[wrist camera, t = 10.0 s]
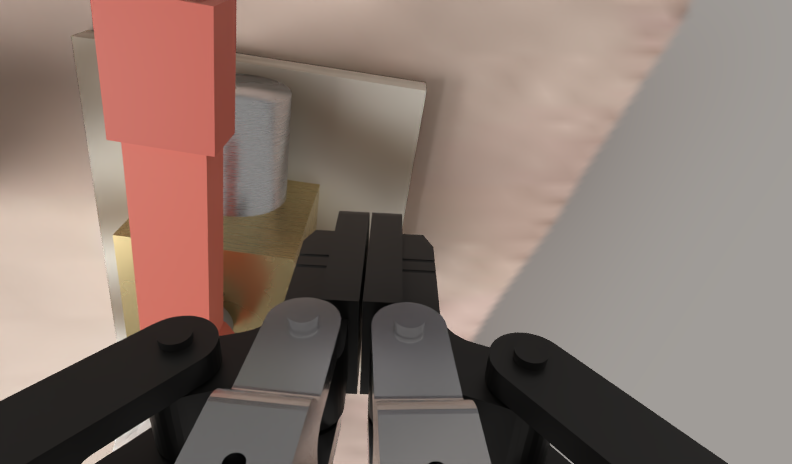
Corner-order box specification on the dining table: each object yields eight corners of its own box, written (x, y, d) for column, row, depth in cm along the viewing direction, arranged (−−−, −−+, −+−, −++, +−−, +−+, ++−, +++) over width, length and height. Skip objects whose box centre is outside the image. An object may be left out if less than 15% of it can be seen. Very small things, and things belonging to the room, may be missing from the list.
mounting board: (377, 357, 35) (376, 373, 33) (128, 325, 34) (116, 341, 32) (425, 82, 26) (426, 91, 24) (88, 30, 25) (70, 35, 24)
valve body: (305, 359, 33) (281, 456, 27) (190, 344, 32) (140, 440, 26) (328, 86, 24) (301, 139, 18) (174, 63, 24) (95, 109, 18)
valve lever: (246, 359, 23) (224, 418, 20) (162, 348, 23) (129, 405, 20) (257, -7, 16) (225, 8, 13) (134, -28, 16) (75, -18, 13)
